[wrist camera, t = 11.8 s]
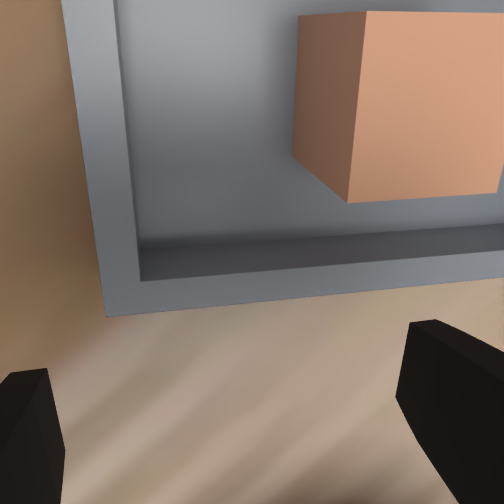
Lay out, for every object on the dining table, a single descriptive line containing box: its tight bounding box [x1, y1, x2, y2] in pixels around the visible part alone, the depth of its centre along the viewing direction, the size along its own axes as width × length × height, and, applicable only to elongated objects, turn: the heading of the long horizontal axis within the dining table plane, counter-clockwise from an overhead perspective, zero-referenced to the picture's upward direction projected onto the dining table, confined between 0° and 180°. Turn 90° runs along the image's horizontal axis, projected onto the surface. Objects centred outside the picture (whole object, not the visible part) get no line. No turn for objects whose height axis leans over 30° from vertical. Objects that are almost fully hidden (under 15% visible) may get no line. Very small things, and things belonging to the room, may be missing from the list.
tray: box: [61, 0, 504, 317], centre depth 15 cm, size 18×14×3 cm
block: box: [292, 11, 504, 203], centre depth 14 cm, size 4×4×5 cm
